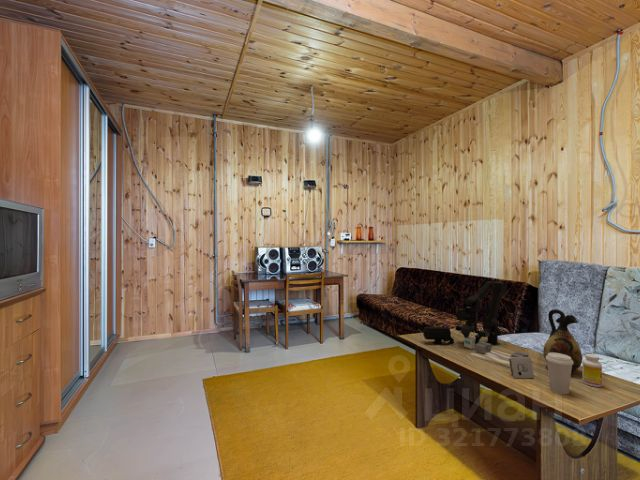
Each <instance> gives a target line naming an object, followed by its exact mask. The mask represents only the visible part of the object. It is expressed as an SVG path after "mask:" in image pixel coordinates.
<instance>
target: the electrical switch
mask: <svg viewBox="0 0 640 480" xmlns="http://www.w3.org/2000/svg"><path fill="white" fill-rule="evenodd" d="M531 360H532V358H531V357H529V356H528V357H511V358H509V363H510V368H509V369H510V374H511V376H513V378H514V379H534V378H535V374H534V368H533V364H532V363H533V361H532V362H531Z"/></svg>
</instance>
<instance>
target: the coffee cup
mask: <svg viewBox="0 0 640 480" xmlns="http://www.w3.org/2000/svg"><path fill="white" fill-rule="evenodd" d="M546 360H547V361H546ZM546 360H545V361H546V362H547V363H546V364H547V365H546V366H547V374H548V381H549V390H550V391H552V392H553V391H554V393H556V394H559V393H560V394H559V395H568V394H569V393H570V387H571V377H572V375H571V370H572V365H573V364H574V363H573V361H572V359H571V357H570V356H567V355H564V354H560V353H548V355H547V356H546Z"/></svg>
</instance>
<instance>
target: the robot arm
mask: <svg viewBox="0 0 640 480" xmlns="http://www.w3.org/2000/svg"><path fill="white" fill-rule="evenodd" d="M507 290H508V285H507V284H506V283H505V282H501V281H485V282H484V284H483V285H482V287H480V289H478V291H476V292H475V293H474V294H473V295H470V296H468V297H467V298H466V299H465V300H464V303H463V305H462V307H461V308H459V309H458V311H456V313H455V318H456V320H458V321H461V322H462V321H465V324H458V325H455V326H454V327H455V331H458V332H459V333H461V334H462V335H463V337H464V338H467V337H470V334H471V333H474V334H475V335H474V337H475V338H476V340H475V344H477V343H479V341H481V339H482V338H486V339H487V340H486V341H484V342H485V343H489V344H491V346H492V345H493V346H497V345H500V344H501V342H500V341H498V337H499V336H502V332H503V331H502V330H501V329H500V328H499V325H500V324H499V321H498V315H499V311H500V307H501V302H502V301H501V300H502V298H503V296H504V295H505V294H506V293H507ZM490 292H492V298H491V301H490V306H489V311H488V315H487V317H484V318H483V321H482V329H480V330H479V327H478V324H479V321H478V313H479V312H480V311H481V310H480V309H479V307H480V306H481V305H482V301H483V299H484V298H485V297H487V295H488V294H489V293H490Z"/></svg>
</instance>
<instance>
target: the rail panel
mask: <svg viewBox="0 0 640 480" xmlns="http://www.w3.org/2000/svg"><path fill="white" fill-rule="evenodd" d="M485 342H486V341H481V342H480V343H477V344H475V348H474V352H471V353H470V355H469V356H471V357H473V358H477V359H480V360H483V361H486V362H489V363H493V364H496V365H499V366H502V367H504V368H508V369H510V363H509V358H511V357H529V353H526V352H522V351H515V352H513V353H511V354H509V353H507V352H502V351H499V350H496V349H492V344H489V343H485ZM531 362H532V363H533V360H532V359H531Z"/></svg>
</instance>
